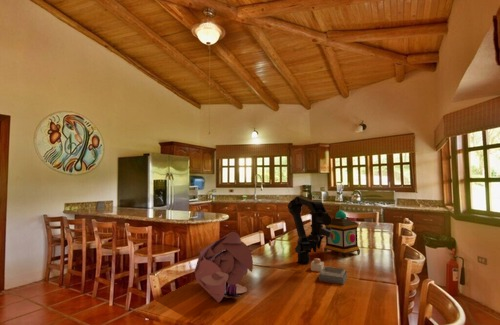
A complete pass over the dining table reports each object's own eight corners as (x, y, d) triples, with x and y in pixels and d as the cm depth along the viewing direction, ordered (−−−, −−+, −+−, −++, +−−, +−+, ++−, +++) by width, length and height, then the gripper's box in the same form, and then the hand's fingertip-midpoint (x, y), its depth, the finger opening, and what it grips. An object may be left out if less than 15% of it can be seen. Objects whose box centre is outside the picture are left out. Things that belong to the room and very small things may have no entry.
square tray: (318, 280, 140) (318, 271, 141) (323, 273, 151) (323, 265, 151) (343, 284, 135) (343, 275, 135) (346, 277, 146) (346, 268, 146)
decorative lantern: (363, 254, 191) (361, 210, 193) (345, 259, 180) (343, 212, 182) (339, 248, 208) (338, 208, 210) (321, 252, 196) (320, 210, 199)
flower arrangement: (263, 306, 123) (275, 242, 127) (225, 313, 107) (240, 239, 111) (214, 279, 148) (225, 226, 152) (176, 281, 131) (190, 222, 135)
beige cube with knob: (310, 270, 157) (310, 259, 158) (313, 267, 163) (313, 257, 163) (321, 272, 155) (321, 261, 155) (323, 269, 160) (323, 258, 160)
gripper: (327, 226, 149) (327, 256, 148) (333, 221, 165) (334, 248, 164) (306, 224, 154) (307, 253, 153) (315, 220, 170) (315, 246, 169)
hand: (316, 250), depth 160 cm, fingers open, 9 cm apart
